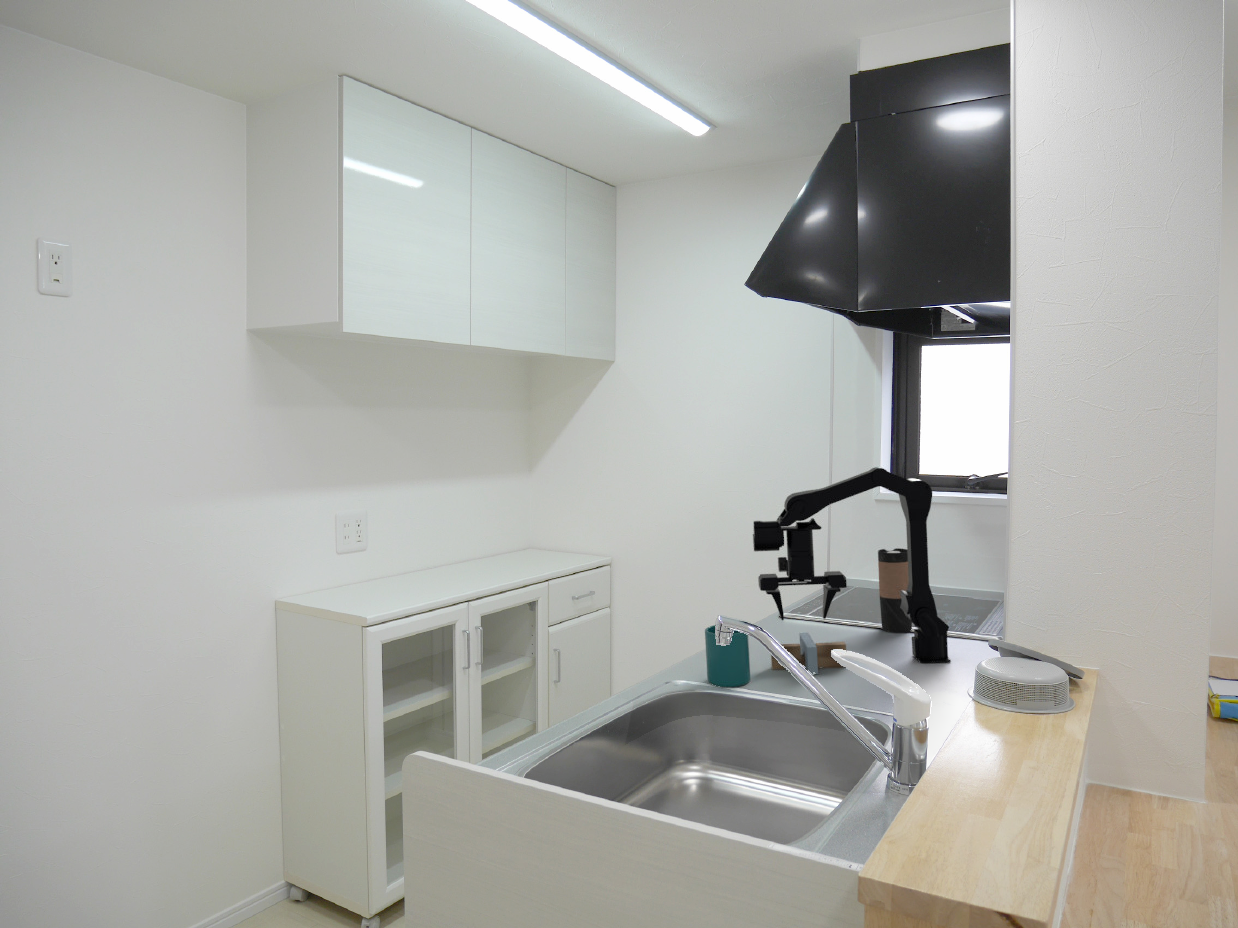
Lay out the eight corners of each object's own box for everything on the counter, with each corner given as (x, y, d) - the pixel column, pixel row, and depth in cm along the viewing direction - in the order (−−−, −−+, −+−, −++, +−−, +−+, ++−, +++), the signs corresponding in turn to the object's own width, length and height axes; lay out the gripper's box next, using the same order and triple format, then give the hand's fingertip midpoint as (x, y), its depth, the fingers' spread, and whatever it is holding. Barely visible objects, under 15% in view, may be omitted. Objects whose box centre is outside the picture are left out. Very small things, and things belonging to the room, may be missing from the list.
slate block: (818, 674, 174) (816, 646, 174) (808, 675, 174) (807, 647, 174) (809, 658, 186) (808, 632, 186) (800, 658, 186) (799, 632, 186)
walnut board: (845, 664, 180) (844, 641, 180) (847, 667, 178) (845, 644, 178) (771, 666, 182) (770, 644, 181) (772, 669, 180) (771, 646, 179)
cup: (765, 674, 176) (762, 623, 176) (736, 691, 167) (733, 636, 167) (729, 669, 182) (726, 618, 182) (699, 684, 173) (696, 631, 172)
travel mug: (902, 634, 201) (899, 553, 200) (875, 630, 207) (871, 551, 206) (918, 628, 206) (915, 549, 205) (891, 624, 212) (887, 547, 211)
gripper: (836, 542, 190) (839, 609, 191) (754, 546, 192) (758, 612, 192) (845, 550, 179) (848, 620, 180) (759, 553, 180) (762, 623, 181)
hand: (803, 619), depth 183 cm, fingers open, 9 cm apart
